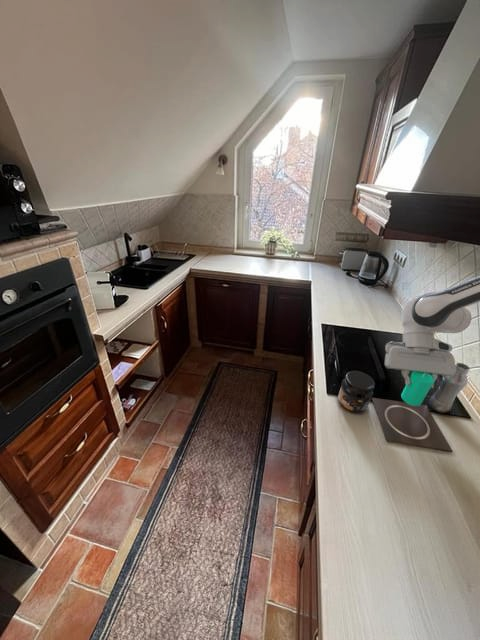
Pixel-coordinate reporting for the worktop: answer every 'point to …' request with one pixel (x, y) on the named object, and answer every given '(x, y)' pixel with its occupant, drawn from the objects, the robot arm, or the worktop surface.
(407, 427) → the brown square pad
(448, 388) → the plastic bottle
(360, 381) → the supplement container
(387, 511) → the worktop surface
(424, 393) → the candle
